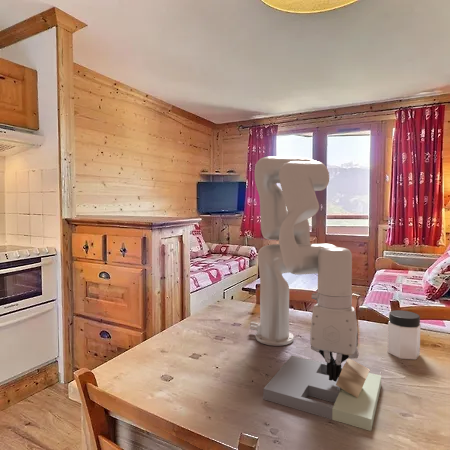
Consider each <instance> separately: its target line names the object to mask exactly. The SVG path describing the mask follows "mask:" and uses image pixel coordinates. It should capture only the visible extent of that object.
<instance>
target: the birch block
mask: <svg viewBox="0 0 450 450" xmlns="http://www.w3.org/2000/svg"><path fill="white" fill-rule="evenodd" d="M345 361H346V362H345V363H344V364H343V366H342V367H343V368H342V371H341V373H340V376H339V377H338V381H337V383H336V385H337V386H338V387H340V388H342V389H343V390H345V391H347V392H348V393H350V394H352V395H353V396H355V397H357V398H358V396H359V394H360V392H361V390H362V387H363V385H364V383H365V380H366V378H367V376H368V373H370V371H371V369H369V368H368V367H366V366H364V365H363V364H360V363H359V362H357V361H355V360H354V359H350V358H348V359H346V360H345Z"/></svg>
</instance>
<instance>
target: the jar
mask: <svg viewBox="0 0 450 450" xmlns="http://www.w3.org/2000/svg"><path fill="white" fill-rule="evenodd" d="M388 320H389V321H388V322H387V353H389V354H391V355H393V356H394V357H396V358H397V359H401V360H402V359H403V360H417V359H418V358H419V356H420V354H421V351H420V350H421V325H422V324H421V316H420V314H419V313H418V314H417V313H416V312H412V311H407V310H403V309H402V310H400V309H399V310H397V309H396V310H391V311H390V312H389V315H388Z"/></svg>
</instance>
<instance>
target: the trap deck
mask: <svg viewBox="0 0 450 450" xmlns="http://www.w3.org/2000/svg"><path fill="white" fill-rule="evenodd" d="M342 368H343V366H342V365H341V371H342ZM337 381H338V379H337ZM337 381H336V382H335V381H334V380H332V381H331V380H329V375H328V374H327V362H322V361H319V360H313V359H309V358H306V357H305V358H304V357H300V356H295V355H291V356H290V357H289V358H288V359H287V360H286V361H285V363H284V364H283V365H282V366H281V368H279V370H277V372H276V373H275V374H274V376H273V377H272V378H271V379H270V380H269V382H268V383H267V384H266V385H265V386H264V387H263V389H262V390H263V392H262V393H263V400H265V401H269V402H272V403H274V404H278V405H282V406H284V407H289V408H290V409H295V410H297V411H298V410H299V411H302V412H305V413H309V414H312V415H316V416H319V417H323V418H325V419H329V420H332V421H335V422H340V423H343V424H346V425H349V426H353V427H357V428H359V429H362V430H366V431H369V432H372V430H373V426H374V420H375V415H376V412H377V407H378V406H377V405H378V403H379V402H378V401H379V397H380V393H381V388H382V375H381V374H375V373H371V372H369V373H368V376H367V378H366V380H365V383H364V385H363V387H362V390H361V392H360V394H359V396H358V398H357V397H355V396H353V395H352V394H350V393H348V392H347V391H345V390H343V389H342V388H340V387H338V386H337V385H336V383H337ZM308 396H309V397H312V398H316V399H320V400H324V401H326V402H330V403H333V405H332V404H330V403H325V402H321V401H319V400H316V399H311V398H308Z"/></svg>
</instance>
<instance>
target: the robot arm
mask: <svg viewBox="0 0 450 450" xmlns="http://www.w3.org/2000/svg"><path fill="white" fill-rule="evenodd" d="M254 182H255V186H256V189H257V193H258V196H259V208H260V210H259V212H260V230H261V231H260V232H261V235H262V237H263V238H264V239H266V240H269V241H278V243H277V244H267V245H263V246H262V247H260V248H259V250H258V252H257V254H256V255H257V257H256V258H257V265H258V271H259V283H260V284H259V286H260V287H259V291H260V295H259V300H260V303H259V308H260V309H259V312H260V313H259V314H260V317H259V319H260V321H259V323H258V322H254V321H250V323H249V329H250V330H252V331H256V333H255V340H256V341H257V342H258V343H261V344H264V345H266V346H267V345H268V346H272V347H273V346H275V347H278V346H280V347H281V346H286V345H290V344H292V343H293V342H294V339H295V336H294V334H293V333H292V332H290V286H289V283H288V282H287V280H286V279H285V278H284V276H283V274H289V273H290V274H292V275H295V276H296V275H298V276H299V275H312V274H315V275H317V292H315V293H314V292H313V293H311V299H312V300H315V301H316V304H314V305H313V308H312V314H311V323H310V336H309V343H310V349H311V350H312V351H314V352H317V353H318V354H320V355H321V357H322V358H324V361H325V363H327V374H326V375H329V380H331V381H332V380H334V381H335V382H336V381H337V379H338V378H339V376H340V373H341V366H342V363H344V362H345V361H347V360H348V358H350V359H352V360H354V359H358V358H359V349H358V345H359V334H358V331H359V330H358V322H357V315H356V314H357V313H356V309H355V307H354V306H352V305H353V304H352V299H353V298H352V297H353V296H352V295H353V293H352V292H353V291H352V289H353V288H352V286H353V285H352V283H353V282H352V281H353V268H352V267H353V254H352V251H351V250H350V249H349V248H347V247H346V248H345V247H339V246H337V245H335V244H332V243H311V235H310V231H311V229H310V222H309V220H308V219H310V218H312V217H314V216H315V215H317V213H318V212H319V209H320V203H319V201H318V198H317V195H316V192H317V191H319V192H320V191H323V190H325V189H326V188H328V185H329V184H330V183H329V182H330V172H329V169H328V168H327V166H326V164H324V163H323V162H321V161H317V160H314V159H311V158H308V157H301V156H281V155H280V156H279V155H276V156H275V155H273V156H272V155H271V156H265V157H261V158H260V159H258V160H257V161H256V163H255V167H254ZM278 184H280V187H279V185H278ZM333 353H334V354H335V353H336V357H335V358H334V354H333Z"/></svg>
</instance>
